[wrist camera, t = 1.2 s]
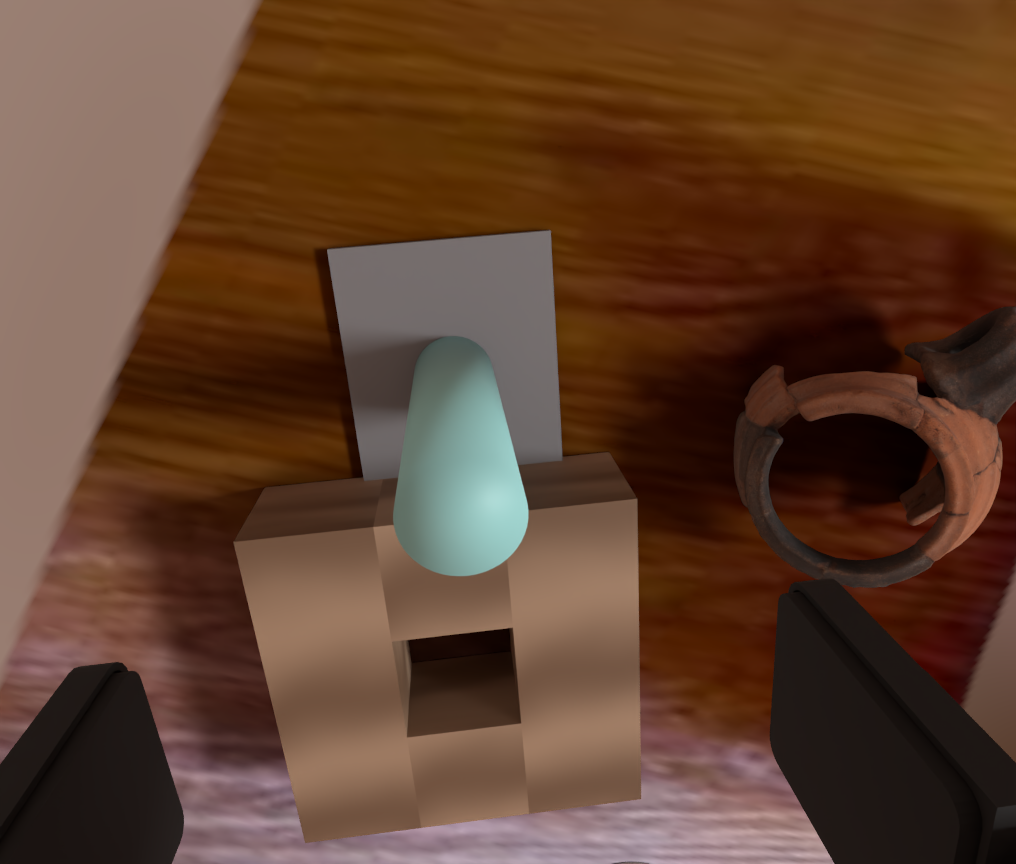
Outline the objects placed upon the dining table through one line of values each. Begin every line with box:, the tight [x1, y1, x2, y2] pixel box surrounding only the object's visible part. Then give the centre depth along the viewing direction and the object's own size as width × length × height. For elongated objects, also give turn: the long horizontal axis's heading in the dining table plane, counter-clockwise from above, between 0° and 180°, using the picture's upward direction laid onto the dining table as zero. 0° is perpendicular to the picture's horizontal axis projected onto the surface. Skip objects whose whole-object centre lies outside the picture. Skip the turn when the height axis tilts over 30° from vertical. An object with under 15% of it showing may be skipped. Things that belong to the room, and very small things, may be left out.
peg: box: [393, 336, 528, 576], centre depth 21 cm, size 3×3×12 cm
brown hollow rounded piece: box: [734, 307, 1016, 587], centre depth 27 cm, size 12×9×8 cm
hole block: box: [233, 452, 641, 843], centre depth 29 cm, size 14×14×4 cm
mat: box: [327, 230, 563, 481], centre depth 27 cm, size 10×8×1 cm
